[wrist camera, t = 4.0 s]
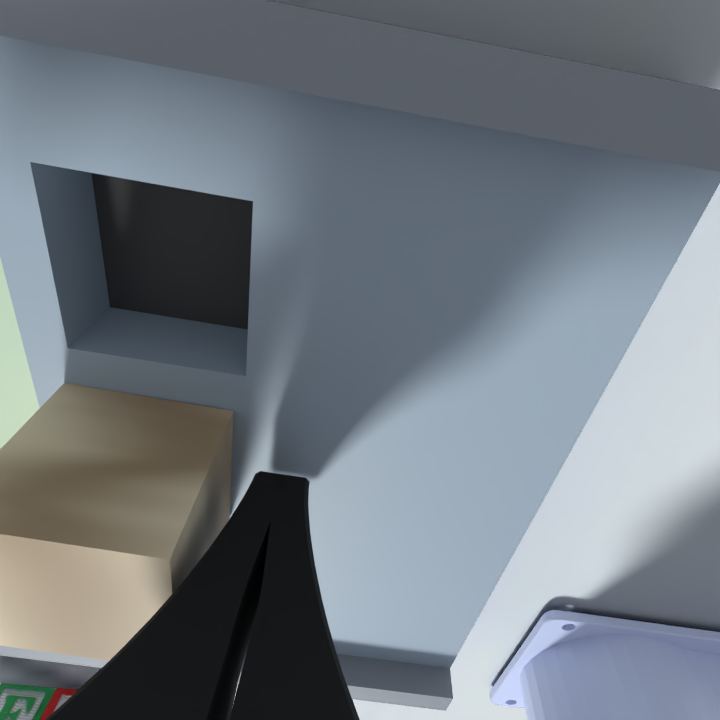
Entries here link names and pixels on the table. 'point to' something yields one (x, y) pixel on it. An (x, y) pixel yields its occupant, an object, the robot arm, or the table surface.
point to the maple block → (105, 515)
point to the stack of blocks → (30, 701)
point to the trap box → (342, 272)
